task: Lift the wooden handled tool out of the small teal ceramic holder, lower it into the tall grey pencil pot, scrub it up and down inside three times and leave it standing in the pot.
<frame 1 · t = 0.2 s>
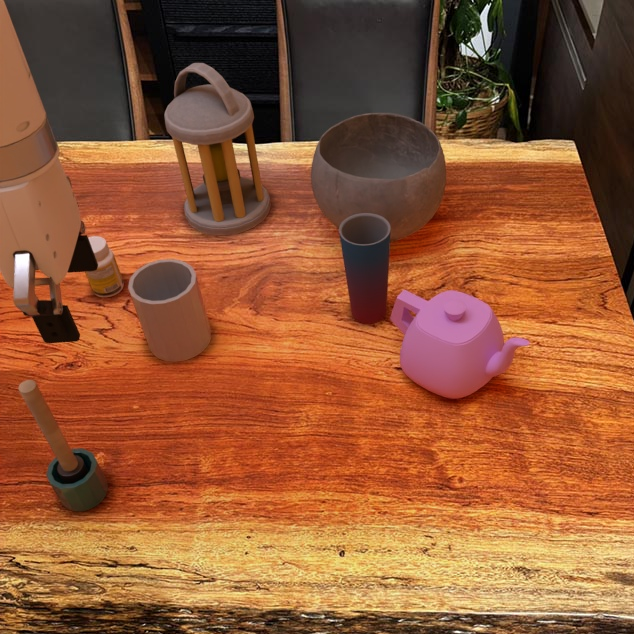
hand: (73, 303, 76), 29 cm above the table, tool pointing down, fingers open, 9 cm apart
cup: (369, 312, 116), on the table
wooden handled tool: (83, 489, 96), resting on holder
holder: (84, 491, 97), on the table
lantern: (228, 209, 134), on the table
grey pencil pot: (180, 339, 114), on the table
bowl: (380, 226, 130), on the table
teapot: (455, 368, 108), on the table
supplement bottle: (109, 288, 122), on the table
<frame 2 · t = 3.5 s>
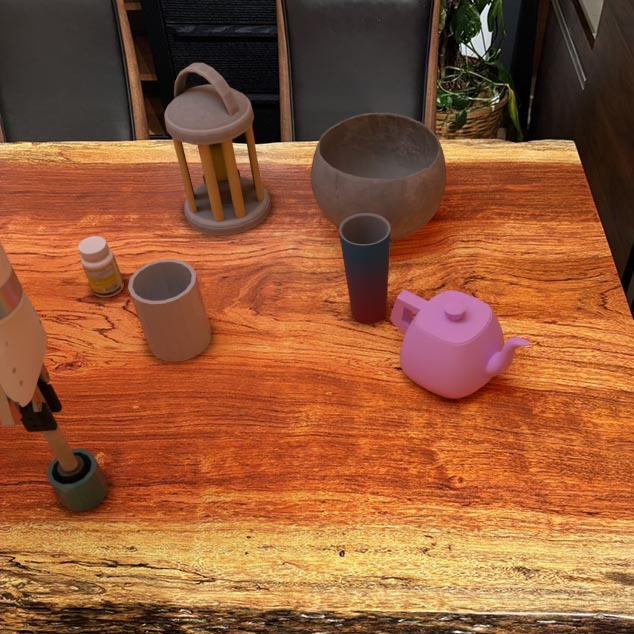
hand: (45, 419, 86), 14 cm above the table, tool pointing down, fingers closed on wooden handled tool
wooden handled tool: (83, 489, 96), point 1 cm above the table, touching gripper, holder
everything else where it was.
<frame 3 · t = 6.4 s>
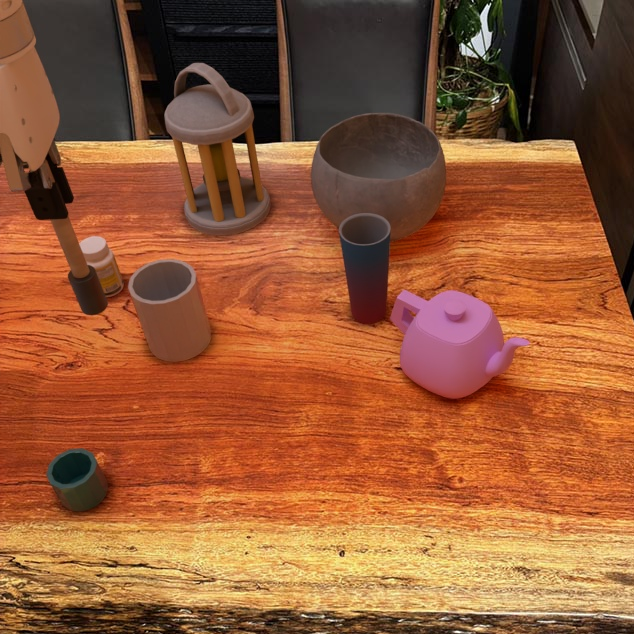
hand: (55, 209, 81), 32 cm above the table, tool pointing down, fingers closed on wooden handled tool
wooden handled tool: (94, 306, 91), point 19 cm above the table, touching gripper
everything else where it was.
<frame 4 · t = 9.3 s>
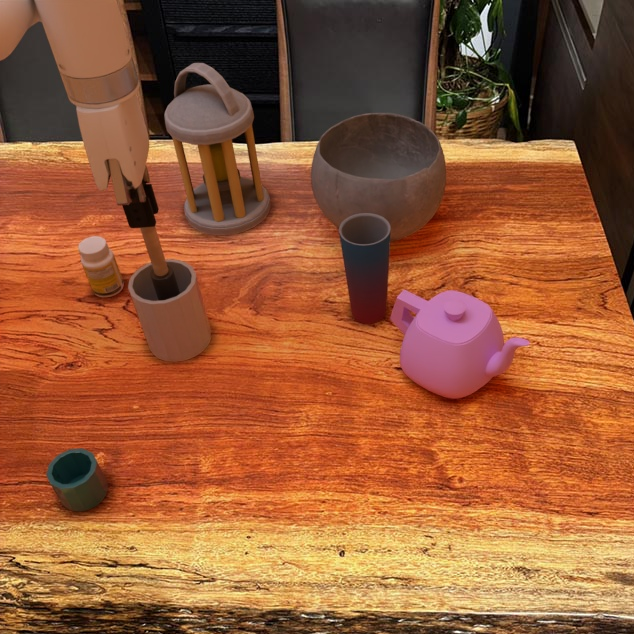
hand: (144, 218, 98), 21 cm above the table, tool pointing down, fingers closed on wooden handled tool
wooden handled tool: (170, 300, 108), point 7 cm above the table, touching gripper
everything else where it was.
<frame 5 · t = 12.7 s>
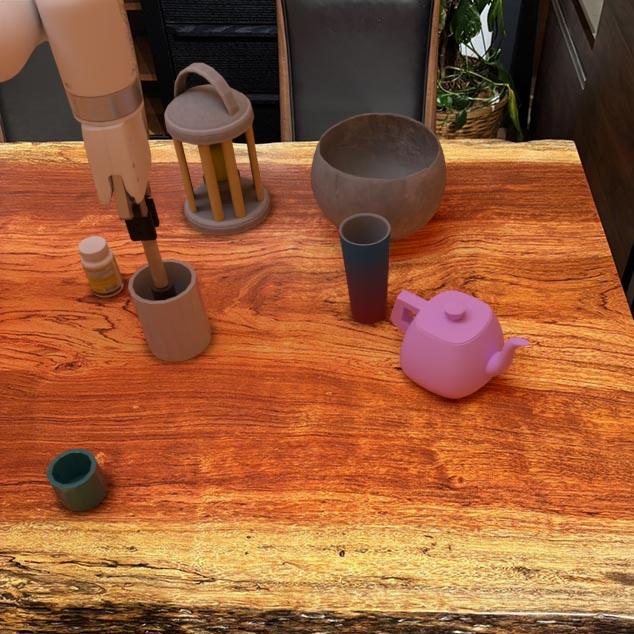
hand: (145, 232, 99), 19 cm above the table, tool pointing down, fingers closed on wooden handled tool
wooden handled tool: (169, 311, 110), point 5 cm above the table, touching gripper
everything else where it was.
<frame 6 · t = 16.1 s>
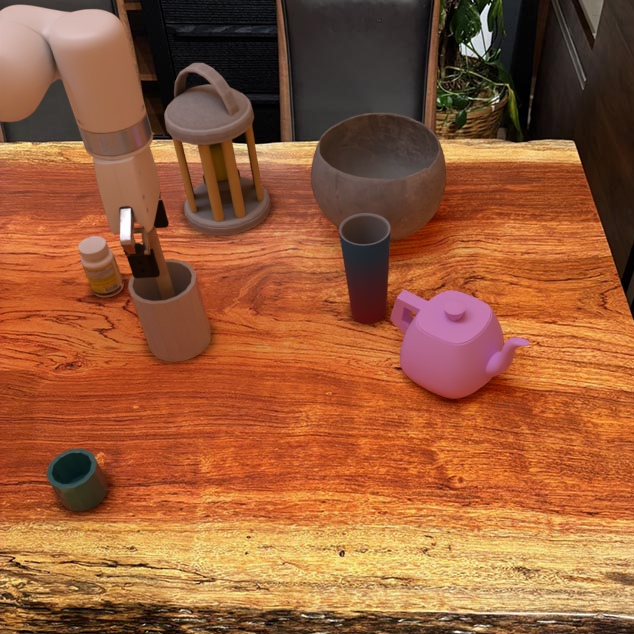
hand: (152, 250, 102), 16 cm above the table, tool pointing down, fingers open, 9 cm apart
wooden handled tool: (180, 336, 113), resting on grey pencil pot
everything else where it was.
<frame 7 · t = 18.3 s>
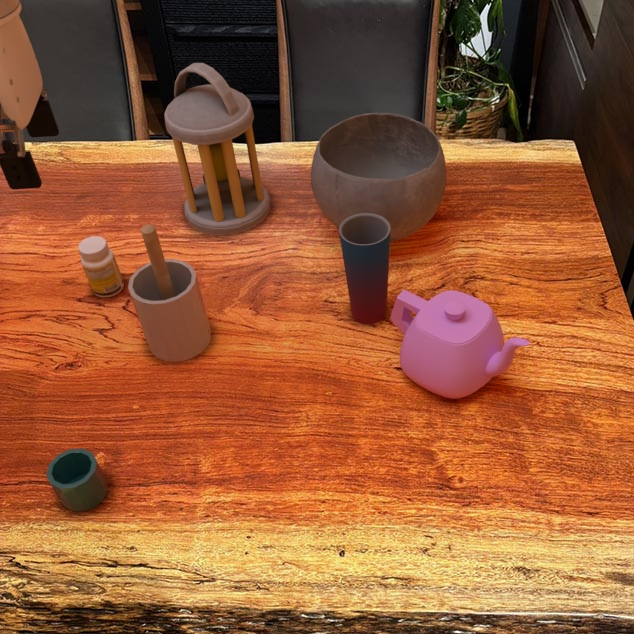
hand: (36, 160, 86), 33 cm above the table, tool pointing down, fingers open, 9 cm apart
nothing on the table moved.
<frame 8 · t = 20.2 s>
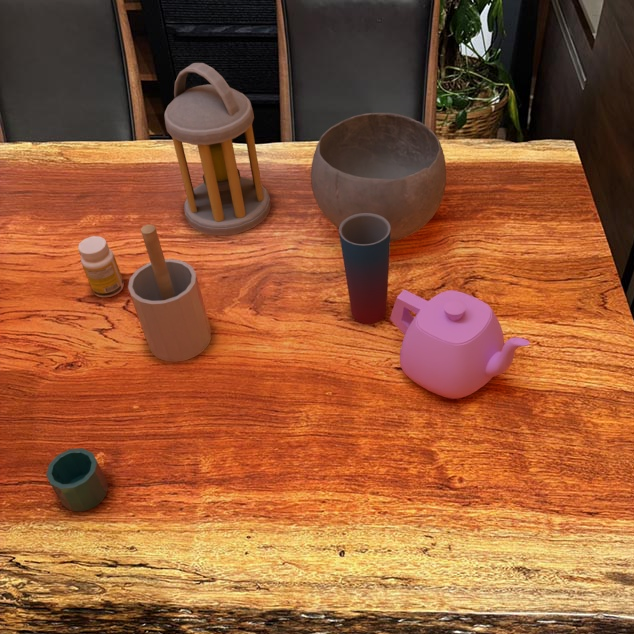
nothing on the table moved.
at the end: wooden handled tool 0.2 cm off-centre in the grey pencil pot, point 0.5 cm above the grey pencil pot's base; wooden handled tool moved 26.6 cm from its start; the gripper is holding nothing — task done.
